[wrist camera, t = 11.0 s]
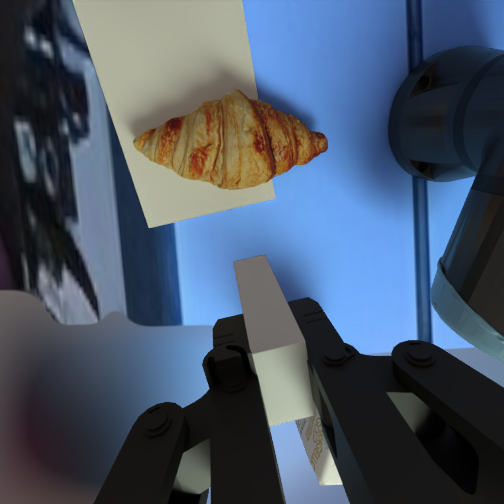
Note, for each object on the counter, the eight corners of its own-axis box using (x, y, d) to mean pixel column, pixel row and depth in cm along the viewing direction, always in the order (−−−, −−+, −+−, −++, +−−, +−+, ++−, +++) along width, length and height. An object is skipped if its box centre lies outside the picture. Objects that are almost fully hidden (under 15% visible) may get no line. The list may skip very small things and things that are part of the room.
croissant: (145, 167, 39) (139, 210, 34) (125, 80, 32) (113, 119, 27) (310, 162, 42) (328, 201, 37) (328, 81, 35) (353, 116, 29)
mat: (234, -40, 31) (235, -41, 31) (274, 198, 40) (275, 198, 40) (68, -12, 30) (68, -13, 30) (149, 227, 39) (148, 228, 39)
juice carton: (270, 365, 50) (311, 493, 32) (281, 317, 47) (332, 429, 29) (315, 366, 51) (378, 488, 34) (328, 320, 48) (404, 427, 31)
